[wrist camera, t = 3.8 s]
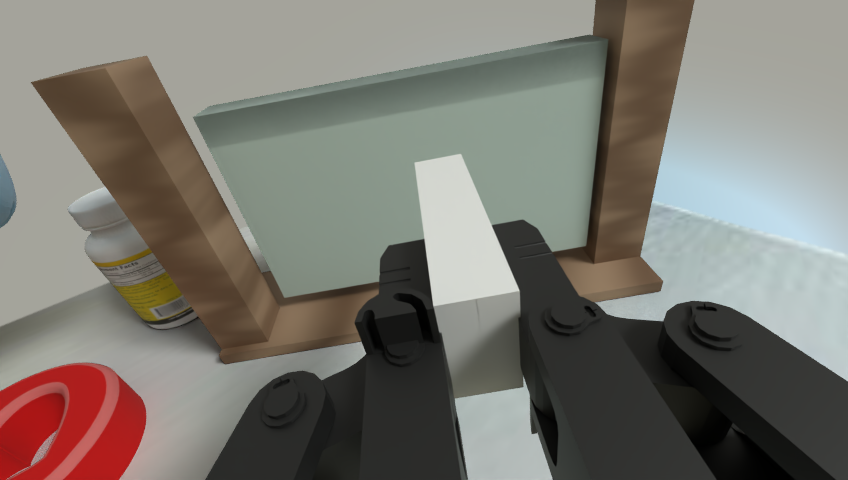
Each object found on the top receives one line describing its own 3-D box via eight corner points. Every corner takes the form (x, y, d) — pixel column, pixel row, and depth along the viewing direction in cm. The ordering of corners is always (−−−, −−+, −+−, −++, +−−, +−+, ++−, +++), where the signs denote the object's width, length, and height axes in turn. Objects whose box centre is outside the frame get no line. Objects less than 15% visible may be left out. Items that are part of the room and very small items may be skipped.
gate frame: (224, 363, 24) (20, 85, 14) (260, 281, 30) (138, 53, 21) (660, 291, 23) (754, -57, 13) (599, 222, 29) (633, -43, 20)
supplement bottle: (187, 279, 32) (115, 175, 27) (235, 285, 30) (170, 175, 25) (130, 326, 28) (33, 216, 23) (183, 337, 26) (90, 219, 21)
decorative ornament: (78, 573, 16) (20, 547, 14) (-147, 616, 16) (-234, 595, 14) (177, 377, 24) (149, 345, 22) (27, 406, 24) (-13, 375, 22)
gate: (284, 297, 25) (192, 117, 18) (291, 278, 26) (209, 106, 20) (586, 246, 24) (608, 39, 17) (573, 229, 26) (589, 34, 19)
